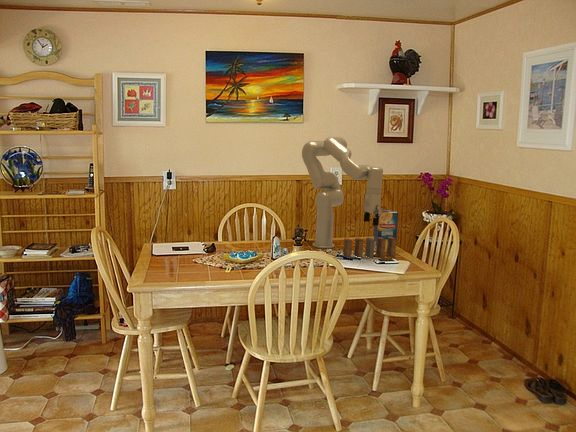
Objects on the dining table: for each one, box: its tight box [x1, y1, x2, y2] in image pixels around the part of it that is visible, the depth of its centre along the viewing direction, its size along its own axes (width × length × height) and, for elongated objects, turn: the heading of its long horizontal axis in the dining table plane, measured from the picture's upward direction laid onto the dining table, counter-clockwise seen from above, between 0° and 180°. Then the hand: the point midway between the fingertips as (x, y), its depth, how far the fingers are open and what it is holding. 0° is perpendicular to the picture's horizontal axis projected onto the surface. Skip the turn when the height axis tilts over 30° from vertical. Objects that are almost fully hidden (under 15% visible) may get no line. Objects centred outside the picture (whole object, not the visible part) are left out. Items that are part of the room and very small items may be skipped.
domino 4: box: [375, 237, 386, 259], centre depth 292 cm, size 5×2×10 cm, turn 20°
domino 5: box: [386, 237, 397, 258], centre depth 294 cm, size 5×2×10 cm, turn 20°
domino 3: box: [364, 237, 375, 259], centre depth 290 cm, size 5×2×10 cm, turn 20°
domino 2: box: [353, 237, 364, 258], centre depth 288 cm, size 5×2×10 cm, turn 20°
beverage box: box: [372, 209, 399, 253], centre depth 306 cm, size 7×11×22 cm, turn 103°
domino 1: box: [342, 238, 353, 258], centre depth 285 cm, size 5×2×10 cm, turn 20°
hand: (370, 223), depth 288 cm, fingers open, 9 cm apart
